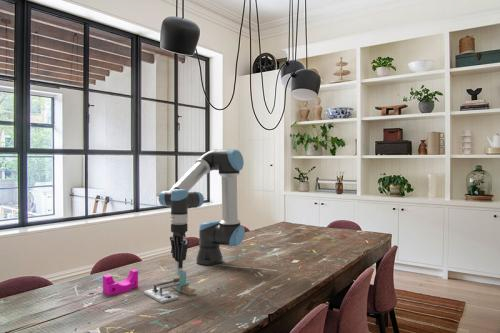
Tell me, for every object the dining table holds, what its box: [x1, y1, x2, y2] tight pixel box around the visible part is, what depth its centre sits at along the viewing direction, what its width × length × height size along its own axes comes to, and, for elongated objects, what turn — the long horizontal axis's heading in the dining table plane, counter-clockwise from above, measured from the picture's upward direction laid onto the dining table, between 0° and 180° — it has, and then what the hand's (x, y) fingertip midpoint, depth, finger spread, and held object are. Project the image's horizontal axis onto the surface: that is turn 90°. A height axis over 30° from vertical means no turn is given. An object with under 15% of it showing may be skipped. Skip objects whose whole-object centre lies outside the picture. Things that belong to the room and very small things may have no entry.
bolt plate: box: [143, 286, 180, 304], centre depth 165 cm, size 8×16×1 cm, turn 42°
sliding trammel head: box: [159, 269, 190, 293], centre depth 169 cm, size 14×3×8 cm, turn 132°
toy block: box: [102, 268, 139, 296], centre depth 173 cm, size 15×6×8 cm, turn 134°
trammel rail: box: [153, 276, 197, 296], centre depth 169 cm, size 13×16×4 cm
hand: (179, 274), depth 174 cm, fingers closed
